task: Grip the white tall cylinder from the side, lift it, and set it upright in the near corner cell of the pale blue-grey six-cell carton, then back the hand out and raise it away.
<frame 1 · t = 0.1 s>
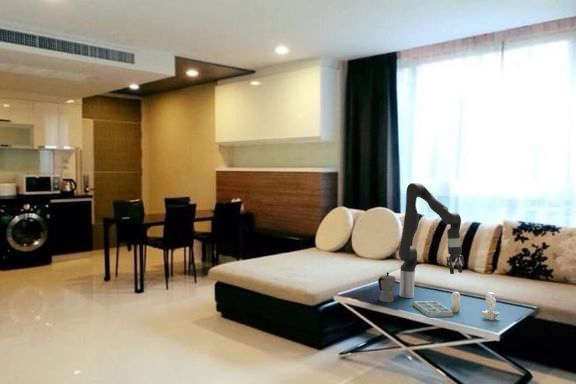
hand: (456, 273, 274), 22 cm above the table, tool pointing down, fingers open, 8 cm apart
figurine: (489, 319, 260), on the table
carton: (432, 310, 273), on the table
coffeepot: (385, 301, 292), on the table
white tall cylinder: (455, 311, 274), on the table
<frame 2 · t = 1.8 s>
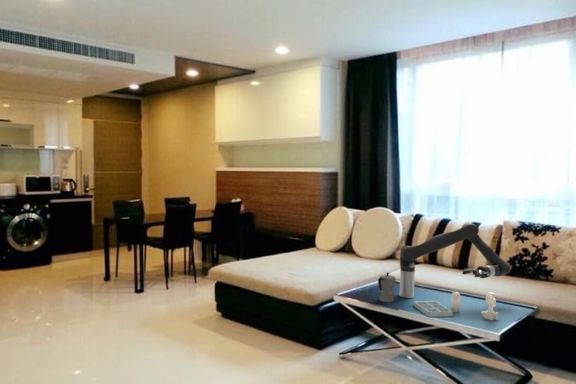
hand: (469, 274, 278), 21 cm above the table, tool horizontal, fingers open, 8 cm apart
nothing on the table moved.
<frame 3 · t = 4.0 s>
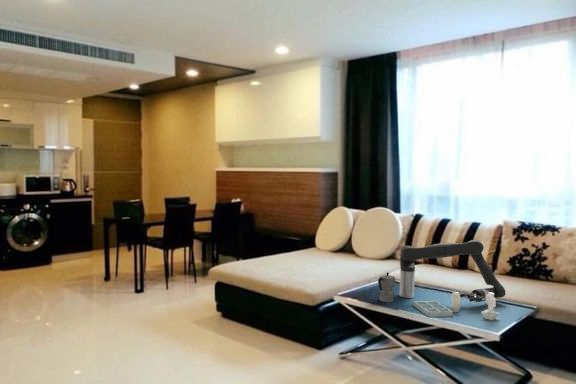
hand: (463, 298, 277), 7 cm above the table, tool horizontal, fingers open, 8 cm apart
nothing on the table moved.
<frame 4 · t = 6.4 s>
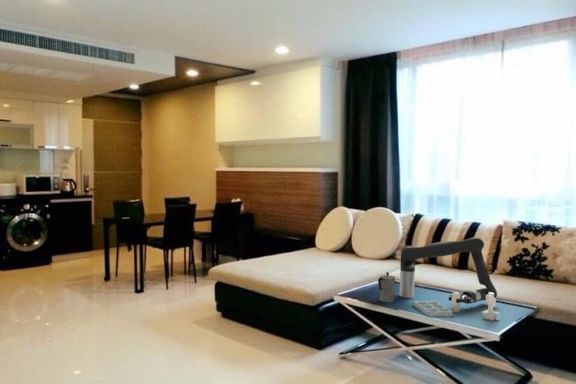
hand: (453, 299, 272), 7 cm above the table, tool horizontal, fingers closed on white tall cylinder, 4 cm apart
white tall cylinder: (455, 311, 273), on the table, touching gripper
everything else where it was.
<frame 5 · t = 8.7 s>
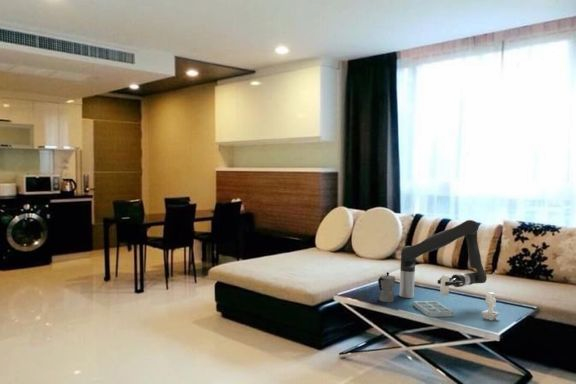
hand: (441, 283, 267), 18 cm above the table, tool horizontal, fingers closed on white tall cylinder, 4 cm apart
white tall cylinder: (444, 294, 269), point 11 cm above the table, touching gripper
everything else where it was.
when the fingers open (9 cm above the table, at t = 11.4 s): white tall cylinder drops 1 cm, resting on carton.
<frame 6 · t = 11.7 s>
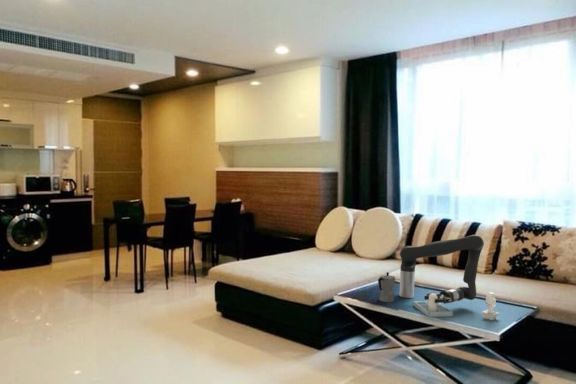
hand: (430, 299, 264), 9 cm above the table, tool horizontal, fingers open, 7 cm apart
white tall cylinder: (432, 313, 265), point 1 cm above the table, touching carton
everything else where it was.
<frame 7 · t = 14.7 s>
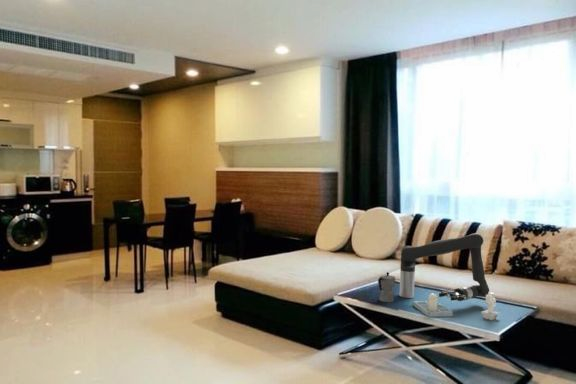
hand: (445, 296, 270), 9 cm above the table, tool horizontal, fingers open, 8 cm apart
nothing on the table moved.
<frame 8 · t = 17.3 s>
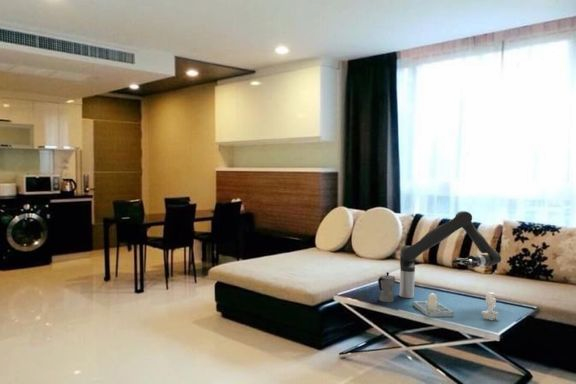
hand: (459, 263, 277), 28 cm above the table, tool horizontal, fingers open, 8 cm apart
nothing on the table moved.
at the end: white tall cylinder 0.0 cm from the target spot on the carton, point 0.6 cm above the carton's base; white tall cylinder tilted 1°; the gripper is holding nothing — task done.
